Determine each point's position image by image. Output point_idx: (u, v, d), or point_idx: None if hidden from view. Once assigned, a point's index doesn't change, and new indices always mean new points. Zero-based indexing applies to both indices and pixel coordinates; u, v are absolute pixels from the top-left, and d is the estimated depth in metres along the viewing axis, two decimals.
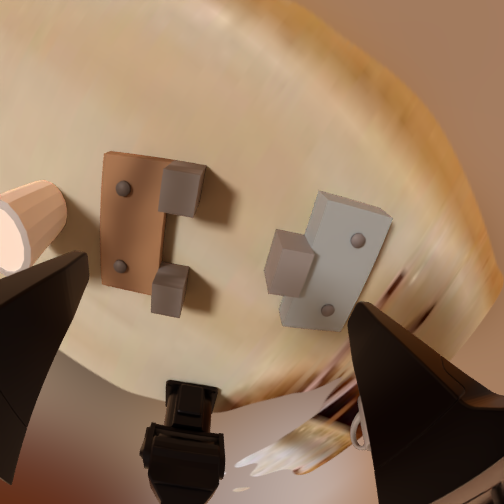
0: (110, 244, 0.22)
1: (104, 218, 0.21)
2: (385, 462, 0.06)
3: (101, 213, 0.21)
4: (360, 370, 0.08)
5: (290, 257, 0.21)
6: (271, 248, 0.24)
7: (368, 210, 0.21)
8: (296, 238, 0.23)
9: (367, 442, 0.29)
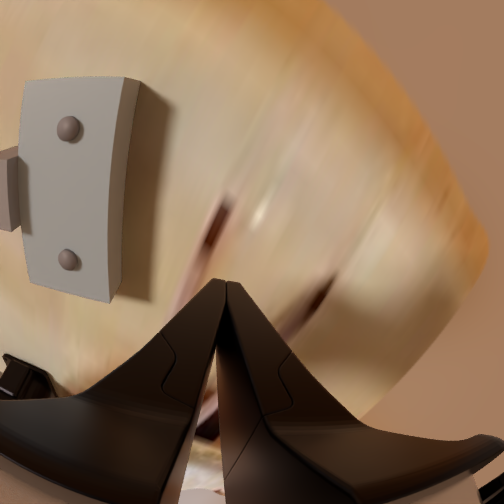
0: None
1: None
2: (227, 474, 0.05)
3: None
4: (218, 359, 0.07)
5: None
6: None
7: (81, 77, 0.10)
8: None
9: None
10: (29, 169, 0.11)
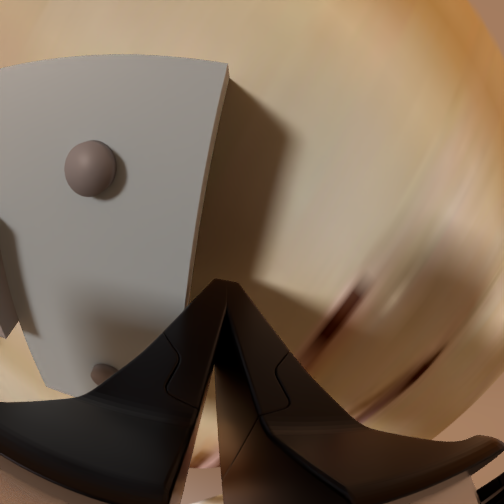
0: None
1: None
2: (225, 474, 0.05)
3: None
4: (216, 359, 0.07)
5: None
6: None
7: None
8: None
9: None
10: (18, 239, 0.06)
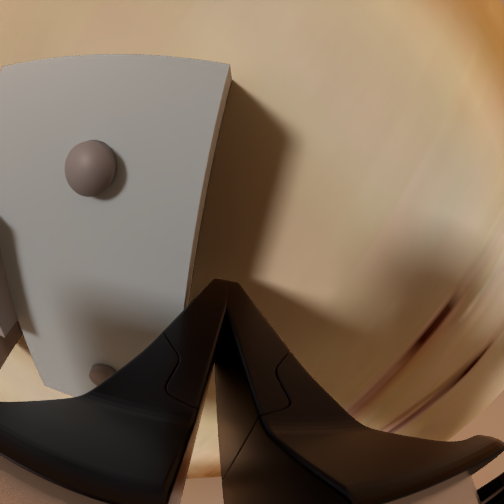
0: None
1: None
2: (226, 474, 0.05)
3: None
4: (216, 359, 0.07)
5: None
6: None
7: None
8: None
9: None
10: (17, 238, 0.06)
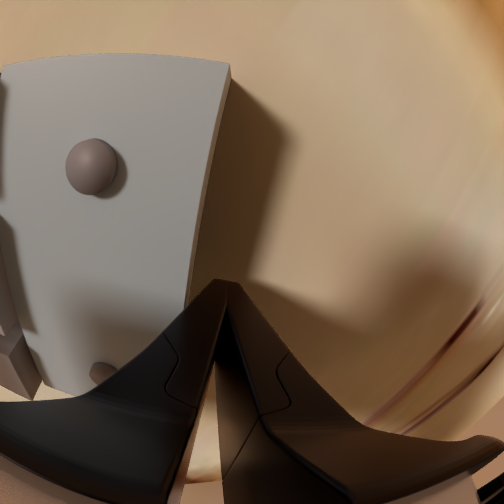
0: None
1: None
2: (226, 474, 0.05)
3: None
4: (216, 359, 0.07)
5: None
6: None
7: None
8: None
9: None
10: (18, 237, 0.06)
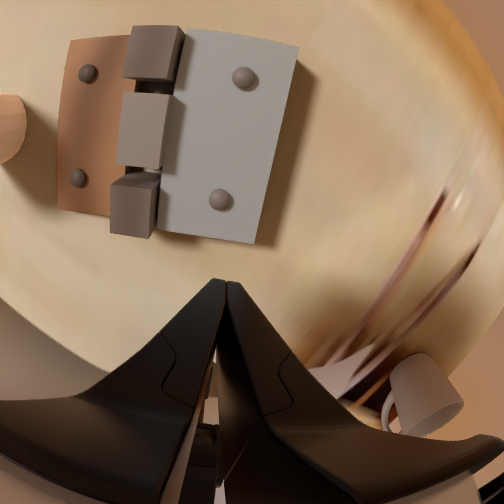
0: (67, 149, 0.15)
1: (63, 116, 0.14)
2: (227, 474, 0.05)
3: (60, 110, 0.14)
4: (218, 359, 0.07)
5: (135, 103, 0.12)
6: None
7: (255, 38, 0.12)
8: None
9: (407, 428, 0.22)
10: (187, 109, 0.14)
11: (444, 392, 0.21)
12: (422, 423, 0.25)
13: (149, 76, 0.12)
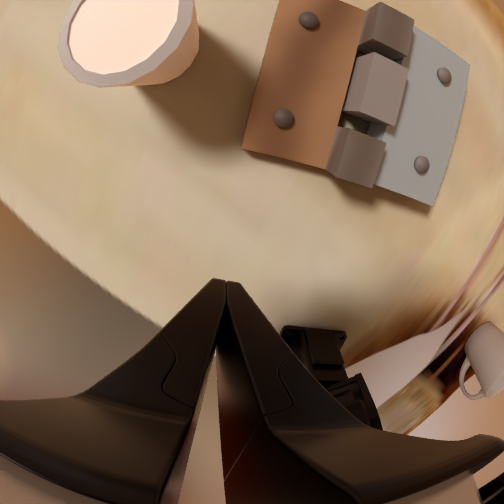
0: (273, 85, 0.15)
1: (272, 50, 0.14)
2: (228, 474, 0.05)
3: (269, 44, 0.14)
4: (218, 359, 0.07)
5: (383, 65, 0.13)
6: None
7: (447, 49, 0.13)
8: None
9: (492, 382, 0.22)
10: (409, 85, 0.14)
11: None
12: (493, 384, 0.25)
13: (395, 48, 0.12)
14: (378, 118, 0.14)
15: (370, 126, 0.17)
